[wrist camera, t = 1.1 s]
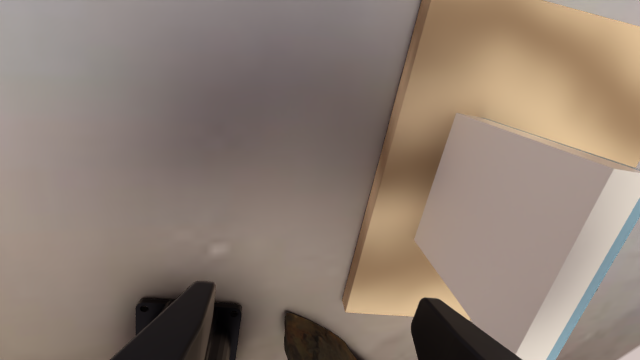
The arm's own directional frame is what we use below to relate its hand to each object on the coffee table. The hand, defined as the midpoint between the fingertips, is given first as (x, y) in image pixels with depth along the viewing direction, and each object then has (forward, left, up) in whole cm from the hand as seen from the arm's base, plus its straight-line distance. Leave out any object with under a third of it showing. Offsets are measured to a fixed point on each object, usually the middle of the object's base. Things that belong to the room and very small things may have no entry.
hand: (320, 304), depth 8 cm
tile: (0, -9, -11) cm, 14 cm away
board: (0, -13, -12) cm, 18 cm away
